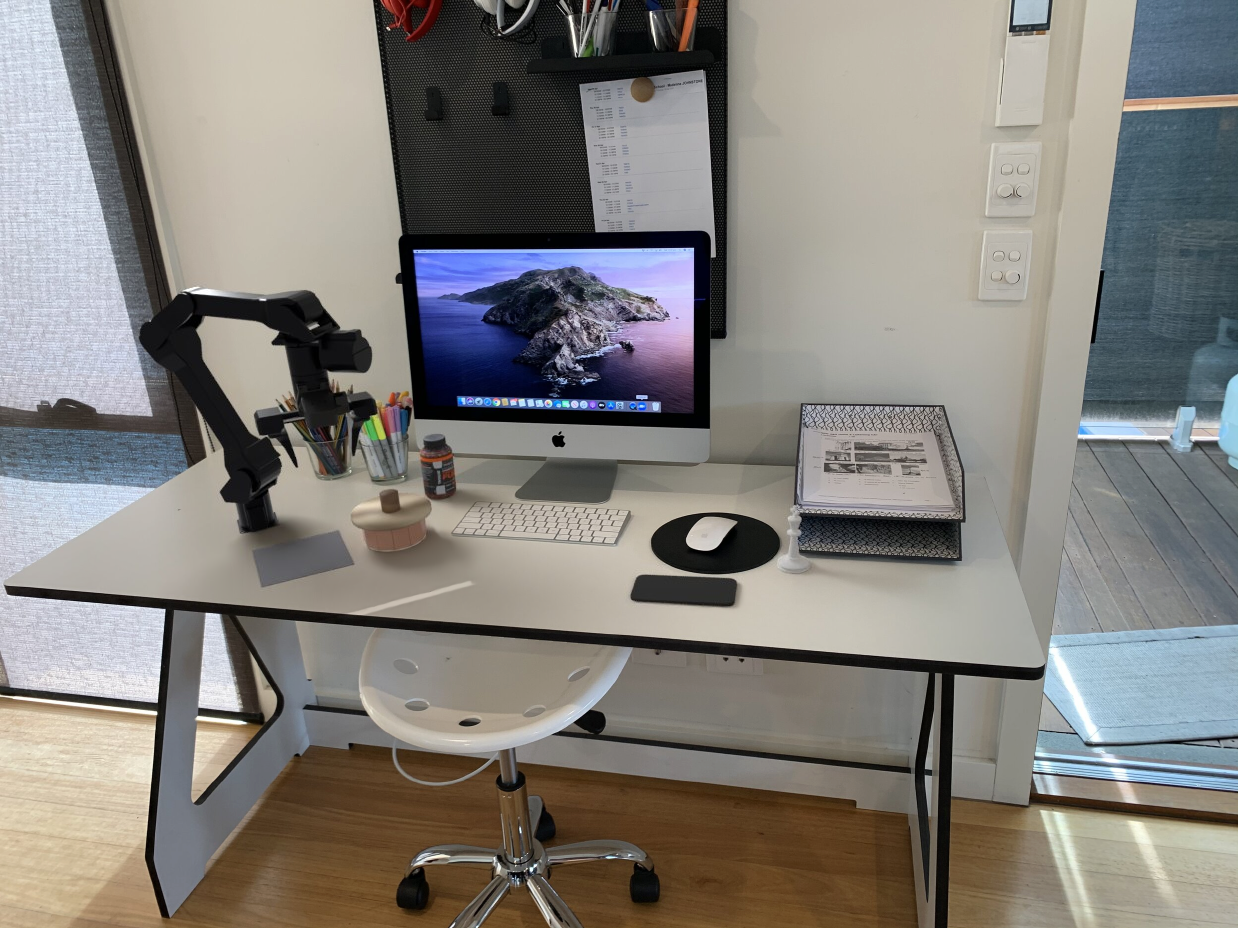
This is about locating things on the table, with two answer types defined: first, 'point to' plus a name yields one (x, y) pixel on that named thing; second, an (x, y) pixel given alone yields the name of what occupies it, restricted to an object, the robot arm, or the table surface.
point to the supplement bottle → (437, 467)
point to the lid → (391, 511)
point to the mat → (301, 558)
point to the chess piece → (793, 548)
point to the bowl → (395, 538)
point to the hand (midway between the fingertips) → (325, 461)
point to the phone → (684, 590)
